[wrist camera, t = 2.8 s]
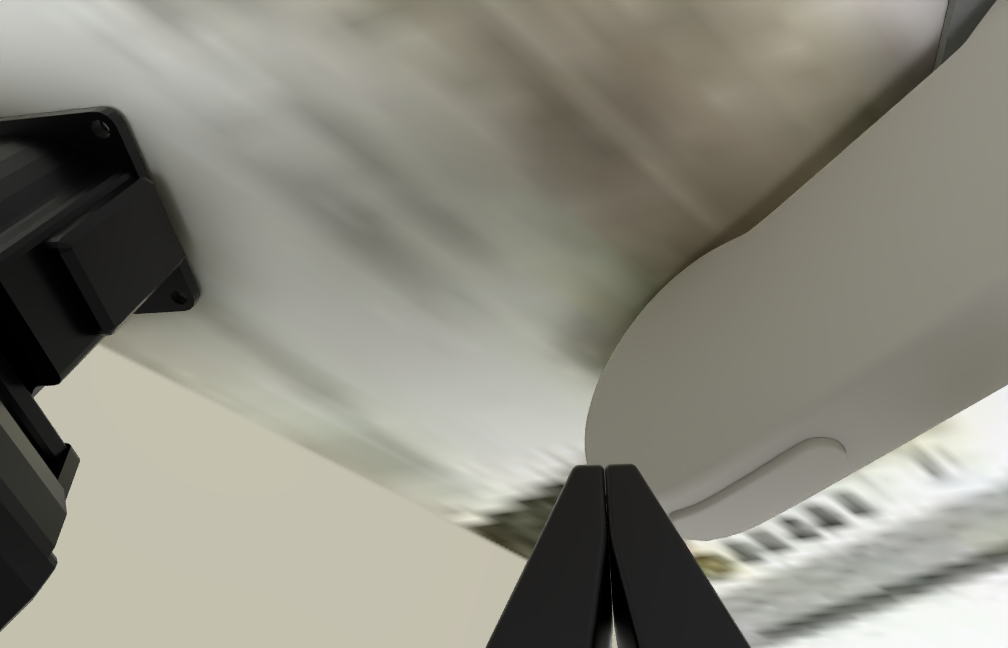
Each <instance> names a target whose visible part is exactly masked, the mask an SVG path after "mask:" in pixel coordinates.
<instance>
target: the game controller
mask: <svg viewBox="0 0 1008 648" xmlns="http://www.w3.org/2000/svg"><path fill="white" fill-rule="evenodd" d="M1006 385H1008V0H997V1H996V2H995V3H994V5H993V6H992V7H991V8H990V10H989V11H988V12H987V14H986V15H985V16H984V18H983V19H982V20H981V22H980V23H979V24H978V26H977V27H976V28H975V30H974V31H973V32H972V34H971V35H970V37H969V38H968V39H967V41H966V42H965V43H964V44H963V45H962V46H961V47H960V48H959V49H958V50H957V51H956V52H955V53H954V54H953V55H952V56H950V57H949V58H948V59H947V60H946V61H945V62H944V63H943V64H942V65H940V66H939V67H938V68H937V69H936V70H935V71H934V72H933V73H931V74H930V75H929V76H928V77H927V78H926V79H925V80H923V81H922V82H921V83H920V84H919V85H918V86H917V87H915V88H914V89H913V90H912V91H911V92H910V93H909V94H907V95H906V96H905V97H904V98H903V99H902V100H901V101H899V102H898V103H897V104H896V105H895V106H894V107H893V108H891V109H890V110H889V111H888V112H887V113H886V114H885V115H883V116H882V117H881V118H880V119H879V120H878V121H876V122H875V123H874V124H873V125H872V126H871V127H870V128H868V129H867V130H866V131H865V132H864V133H863V134H862V135H860V136H859V137H858V138H857V139H856V140H855V141H854V142H852V143H851V144H850V145H849V146H848V147H847V148H845V149H844V150H843V151H842V152H841V153H840V154H839V155H837V156H836V157H835V158H834V159H833V160H832V161H830V162H829V163H828V164H827V165H826V166H825V167H824V168H822V169H821V170H820V171H819V172H818V173H817V174H815V175H814V176H813V177H812V178H811V179H810V180H809V181H807V182H806V183H805V184H804V185H803V186H802V187H800V188H799V189H798V190H797V191H796V192H795V193H794V194H792V195H791V196H790V197H789V198H788V199H787V200H785V201H784V202H783V203H782V204H781V205H780V206H778V207H777V208H776V209H775V210H774V211H773V212H771V213H770V214H769V215H768V216H767V217H766V218H764V219H763V220H762V221H761V222H760V223H758V224H757V225H756V226H755V227H754V228H752V229H751V230H750V231H749V232H747V233H745V234H743V235H741V236H739V237H737V238H735V239H733V240H731V241H729V242H727V243H725V244H723V245H721V246H719V247H717V248H715V249H713V250H712V251H710V252H708V253H707V254H705V255H703V256H702V257H700V258H699V259H697V260H696V261H695V262H693V263H692V264H690V265H689V266H688V267H686V268H685V269H684V270H683V271H681V272H680V273H679V274H678V275H677V276H675V277H674V278H673V279H672V280H671V281H670V282H669V283H668V284H667V285H665V286H664V287H663V288H662V289H661V290H660V291H659V292H658V293H657V294H656V295H655V296H654V298H653V299H652V300H651V301H650V302H649V303H648V304H647V305H646V306H645V308H644V309H643V310H642V311H641V312H640V314H639V315H638V316H637V317H636V319H635V320H634V321H633V323H632V324H631V325H630V327H629V328H628V329H627V331H626V332H625V334H624V335H623V337H622V338H621V340H620V341H619V343H618V344H617V346H616V348H615V349H614V351H613V353H612V355H611V356H610V358H609V360H608V362H607V364H606V366H605V368H604V370H603V372H602V374H601V376H600V379H599V381H598V384H597V386H596V389H595V392H594V394H593V397H592V401H591V404H590V408H589V412H588V416H587V422H586V428H585V454H586V460H587V464H588V465H601V466H603V468H604V475H605V467H606V466H607V465H609V464H633V465H635V466H636V467H637V468H638V470H639V471H640V473H641V475H642V476H643V478H644V479H645V481H646V482H647V484H648V486H649V487H650V489H651V490H652V492H653V494H654V495H655V497H656V498H657V500H658V501H659V503H660V505H661V506H662V508H663V509H664V511H665V512H666V514H667V516H668V517H669V519H670V520H671V522H672V524H673V525H674V527H675V528H676V530H677V531H678V533H679V535H680V536H681V538H683V539H688V540H700V541H709V540H713V539H718V538H724V537H728V536H732V535H735V534H738V533H741V532H744V531H746V530H748V529H751V528H753V527H755V526H757V525H760V524H762V523H763V522H765V521H767V520H769V519H771V518H773V517H775V516H776V515H778V514H780V513H782V512H784V511H786V510H787V509H789V508H791V507H793V506H795V505H797V504H799V503H800V502H802V501H804V500H806V499H808V498H809V497H811V496H813V495H815V494H816V493H818V492H820V491H822V490H823V489H825V488H827V487H829V486H831V485H832V484H834V483H836V482H838V481H839V480H841V479H843V478H845V477H846V476H848V475H850V474H852V473H854V472H855V471H857V470H859V469H861V468H862V467H864V466H866V465H868V464H869V463H871V462H873V461H875V460H877V459H878V458H880V457H882V456H884V455H885V454H887V453H889V452H891V451H892V450H894V449H896V448H898V447H899V446H901V445H903V444H905V443H906V442H908V441H910V440H912V439H913V438H915V437H917V436H919V435H920V434H922V433H924V432H926V431H927V430H929V429H931V428H933V427H934V426H936V425H938V424H940V423H941V422H943V421H945V420H947V419H948V418H950V417H952V416H954V415H955V414H957V413H959V412H961V411H962V410H964V409H966V408H968V407H969V406H971V405H973V404H975V403H976V402H978V401H980V400H982V399H983V398H985V397H987V396H989V395H990V394H992V393H994V392H996V391H997V390H999V389H1001V388H1003V387H1004V386H1006ZM605 491H606V486H605Z"/></svg>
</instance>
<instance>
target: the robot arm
mask: <svg viewBox="0 0 1008 648" xmlns="http://www.w3.org/2000/svg"><path fill="white" fill-rule="evenodd" d="M100 121H102V122H104V123H105V124H106V125H107V126H108V128H109V130H110V133H107V132H106V131H104V130H103V129H102V127H101V126H100ZM177 291H179V292H181V293H183V294H184V295H185V296H186V298H185V297H182V296H181V295H179V293H178V292H177ZM199 297H200V293H199V289H198V287H197V285H196V283H195V280H194V278H193V276H192V274H191V271H190V269H189V267H188V264H187V262H186V260H185V258H184V252H183V250H182V248H181V246H180V243H179V241H178V239H177V236H176V234H175V232H174V230H173V227H172V225H171V223H170V221H169V218H168V216H167V214H166V211H165V209H164V207H163V205H162V202H161V200H160V198H159V196H158V193H157V191H156V189H155V186H154V185H153V183H152V182H151V181H150V178H149V176H148V174H147V172H146V169H145V167H144V165H143V162H142V160H141V158H140V156H139V153H138V151H137V149H136V147H135V144H134V142H133V140H132V137H131V135H130V133H129V131H128V128H127V126H126V124H125V122H124V121H123V119H122V117H121V116H120V115H119V114H118V113H116V112H115V111H114V110H112V109H109V108H106V107H96V108H86V109H77V110H68V111H58V112H49V113H39V114H30V115H21V116H11V117H2V118H0V632H1V631H2V629H4V628H5V627H6V626H7V625H8V624H9V623H10V622H11V621H12V620H13V619H14V618H15V617H16V616H17V615H18V614H19V613H20V612H21V610H23V609H24V608H25V607H26V606H27V605H28V604H29V603H30V602H31V601H32V600H33V598H34V597H35V596H36V594H37V593H38V592H39V590H40V589H41V588H42V586H43V585H44V584H45V582H46V581H47V580H48V578H49V577H50V575H51V574H52V572H53V571H54V569H55V567H56V565H57V558H56V557H55V556H54V554H53V553H52V551H53V549H54V548H55V545H56V543H57V540H58V537H59V534H60V532H61V529H62V526H63V523H64V520H65V518H66V515H67V511H66V502H65V501H66V498H67V495H68V492H69V489H70V487H71V484H72V481H73V479H74V476H75V473H76V470H77V467H78V464H79V462H80V458H79V457H78V455H77V454H76V452H75V451H74V450H73V448H72V447H71V445H70V444H68V443H64V442H63V441H62V439H61V438H60V436H59V435H58V433H57V432H56V430H55V429H54V427H53V426H52V425H51V423H50V422H49V420H48V419H47V417H46V416H45V414H44V413H43V411H42V410H41V408H40V407H39V406H38V404H37V403H36V401H35V400H34V398H33V397H34V396H35V395H36V394H37V393H38V392H39V391H40V390H41V389H42V388H43V387H44V386H51V385H57V384H59V383H60V382H61V381H62V380H63V379H64V378H65V377H66V376H67V375H68V374H69V373H70V372H71V371H72V370H73V369H74V368H75V367H76V366H77V365H78V364H79V363H80V362H81V361H82V360H83V359H84V358H85V357H86V356H87V355H88V354H89V353H90V352H91V351H92V349H93V348H94V347H95V346H96V345H97V344H98V343H99V342H100V341H101V340H102V339H103V338H104V337H105V336H106V335H112V334H113V333H115V332H116V331H117V330H118V329H119V328H120V327H121V326H122V325H123V323H124V322H125V321H126V320H127V319H128V318H129V317H130V316H131V315H132V314H141V313H158V312H174V311H186V310H190V309H191V308H192V307H193V306H194V305H195V304H196V303H197V301H198V300H199ZM605 486H606V491H605ZM606 504H607V507H606ZM607 521H608V524H607ZM608 538H609V541H608ZM609 555H610V559H609ZM610 571H611V576H610ZM611 588H612V594H611ZM612 605H613V616H614V627H615V633H616V640H617V646H618V648H751V647H750V645H749V643H748V642H747V640H746V639H745V637H744V636H743V634H742V632H741V631H740V629H739V628H738V626H737V625H736V623H735V621H734V620H733V618H732V617H731V615H730V613H729V612H728V610H727V609H726V607H725V606H724V604H723V602H722V601H721V599H720V598H719V596H718V595H717V593H716V591H715V590H714V588H713V587H712V585H711V583H710V582H709V580H708V579H707V577H706V576H705V574H704V572H703V571H702V569H701V568H700V566H699V565H698V563H697V561H696V560H695V558H694V557H693V555H692V553H691V552H690V550H689V549H688V547H687V546H686V544H685V542H684V541H683V539H682V538H681V536H680V535H679V533H678V531H677V530H676V528H675V527H674V525H673V524H672V522H671V520H670V519H669V517H668V516H667V514H666V512H665V511H664V509H663V508H662V506H661V505H660V503H659V501H658V500H657V498H656V497H655V495H654V494H653V492H652V490H651V489H650V487H649V486H648V484H647V482H646V481H645V479H644V478H643V476H642V475H641V473H640V471H639V470H638V468H637V467H636V466H635V465H633V464H609V465H607V466H606V467H605V475H604V468H603V466H601V465H577V466H575V467H574V468H573V469H572V471H571V473H570V475H569V477H568V479H567V481H566V483H565V485H564V487H563V489H562V491H561V493H560V495H559V497H558V499H557V501H556V503H555V506H554V508H553V510H552V512H551V514H550V516H549V518H548V520H547V522H546V524H545V526H544V528H543V530H542V532H541V534H540V536H539V539H538V541H537V543H536V545H535V547H534V549H533V551H532V553H531V555H530V557H529V559H528V561H527V563H526V565H525V567H524V570H523V572H522V574H521V576H520V578H519V580H518V582H517V584H516V586H515V588H514V590H513V592H512V594H511V596H510V598H509V600H508V602H507V605H506V607H505V609H504V611H503V613H502V615H501V617H500V619H499V621H498V624H497V625H496V627H495V629H494V632H493V633H492V635H491V638H490V640H489V642H488V644H487V646H486V648H612V634H613V619H612V618H613V616H612Z"/></svg>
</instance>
